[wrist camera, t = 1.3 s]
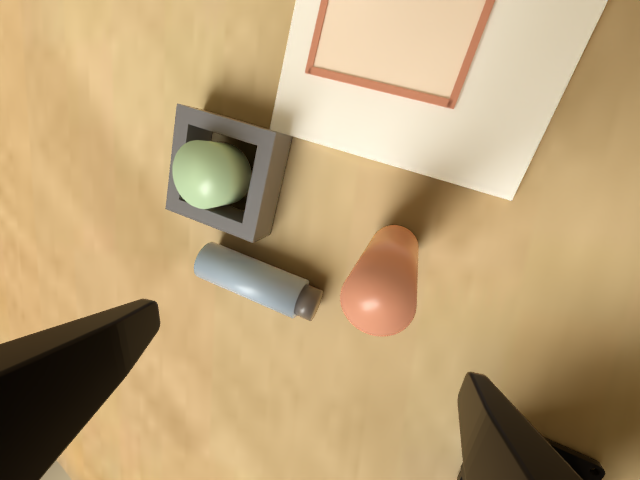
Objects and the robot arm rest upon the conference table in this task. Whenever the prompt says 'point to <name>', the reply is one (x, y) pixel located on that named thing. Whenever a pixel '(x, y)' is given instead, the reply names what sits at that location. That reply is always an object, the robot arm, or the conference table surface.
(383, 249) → the salmon rounded cylinder
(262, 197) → the button housing
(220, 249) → the grey cylinder
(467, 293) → the conference table surface
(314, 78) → the sheet
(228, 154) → the button
